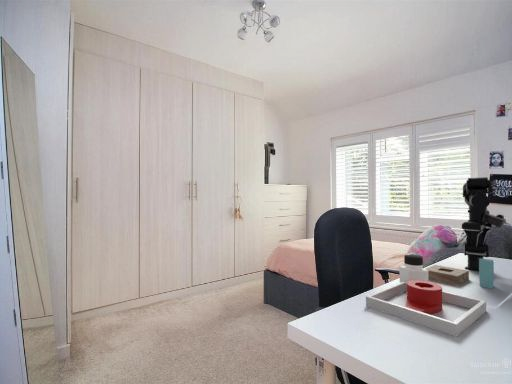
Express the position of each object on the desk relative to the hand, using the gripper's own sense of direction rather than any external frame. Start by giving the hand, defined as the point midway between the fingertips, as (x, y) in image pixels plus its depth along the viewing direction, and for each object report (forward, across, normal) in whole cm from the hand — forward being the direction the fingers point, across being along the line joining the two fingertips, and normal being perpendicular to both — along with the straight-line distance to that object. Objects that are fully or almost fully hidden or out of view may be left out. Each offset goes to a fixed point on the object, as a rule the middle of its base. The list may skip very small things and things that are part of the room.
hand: (478, 245), depth 117 cm
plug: (+13, -12, -6) cm, 18 cm away
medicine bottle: (+13, -33, +11) cm, 37 cm away
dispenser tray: (+13, -51, 0) cm, 53 cm away
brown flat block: (+13, -14, +7) cm, 20 cm away
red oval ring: (+14, -53, 0) cm, 55 cm away
